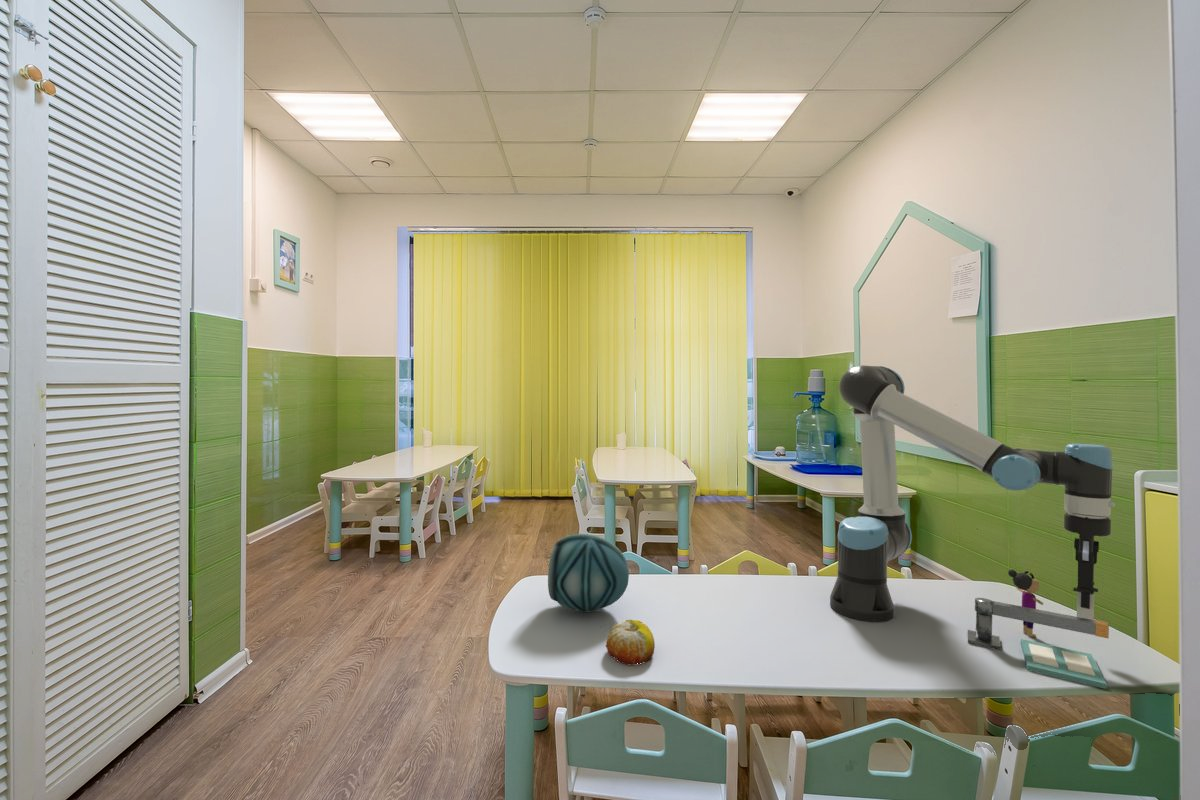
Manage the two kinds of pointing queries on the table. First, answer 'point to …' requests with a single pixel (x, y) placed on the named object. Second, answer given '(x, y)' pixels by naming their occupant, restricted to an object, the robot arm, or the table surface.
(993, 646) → the post
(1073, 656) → the mat
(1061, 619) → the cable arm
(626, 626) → the fruit
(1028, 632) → the toy
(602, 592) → the toy
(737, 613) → the table surface
